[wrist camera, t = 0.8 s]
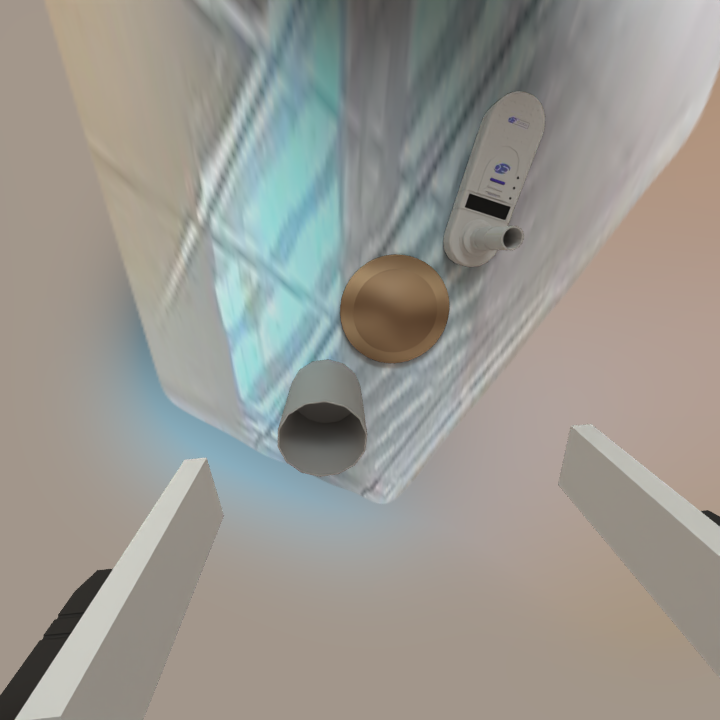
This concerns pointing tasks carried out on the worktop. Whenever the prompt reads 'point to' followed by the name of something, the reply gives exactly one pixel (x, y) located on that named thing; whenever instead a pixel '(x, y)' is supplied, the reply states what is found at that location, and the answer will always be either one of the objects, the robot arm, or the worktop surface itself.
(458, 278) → the worktop surface
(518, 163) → the electronic device
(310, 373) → the cup
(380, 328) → the plate
